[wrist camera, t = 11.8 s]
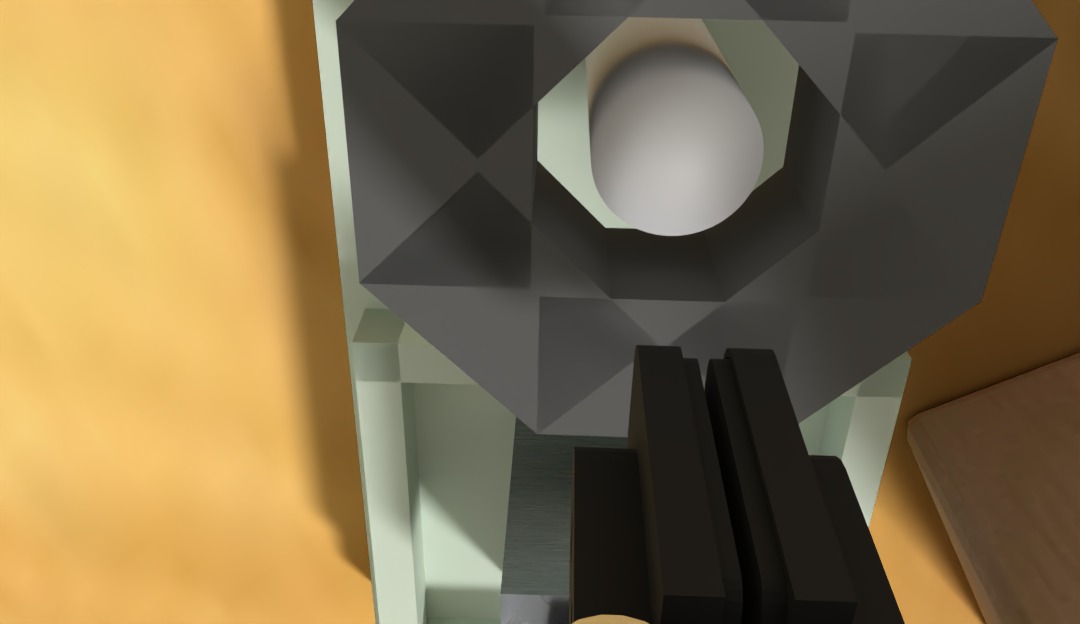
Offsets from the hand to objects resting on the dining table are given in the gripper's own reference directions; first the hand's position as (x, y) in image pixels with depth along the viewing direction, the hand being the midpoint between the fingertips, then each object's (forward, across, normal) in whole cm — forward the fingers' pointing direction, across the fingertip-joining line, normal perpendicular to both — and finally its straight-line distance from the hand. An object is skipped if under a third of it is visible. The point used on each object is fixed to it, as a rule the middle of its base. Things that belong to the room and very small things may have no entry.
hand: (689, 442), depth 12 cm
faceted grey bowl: (+5, 0, -3) cm, 6 cm away
